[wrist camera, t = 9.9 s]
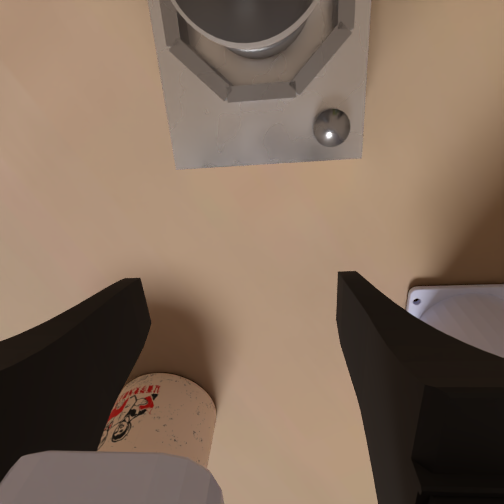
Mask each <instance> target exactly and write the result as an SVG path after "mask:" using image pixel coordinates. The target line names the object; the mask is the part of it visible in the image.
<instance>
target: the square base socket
mask: <svg viewBox="0 0 504 504" xmlns="http://www.w3.org/2000/svg"><path fill="white" fill-rule="evenodd" d="M148 5H149V11H150V17H151V23H152V29H153V35H154V41H155V47H156V53H157V59H158V65H159V71H160V77H161V83H162V89H163V95H164V101H165V106H166V112H167V118H168V124H169V130H170V136H171V142H172V148H173V154H174V160H175V166H176V170H179V169H195V168H211V167H227V166H244V165H260V164H276V163H293V162H309V161H325V160H341V159H358V158H362V146H363V130H364V113H365V97H366V80H367V64H368V47H369V31H370V14H371V0H319V1H318V3H317V5H316V6H315V8H314V9H313V11H312V12H311V14H310V15H309V17H308V19H307V21H306V24H305V26H304V28H303V30H302V31H301V33H300V34H299V36H298V37H297V38H296V40H295V41H294V42H293V43H292V44H291V45H290V46H289V47H288V48H286V49H285V50H284V51H282V52H280V53H279V54H277V55H274V56H272V57H268V58H263V59H250V58H245V57H242V56H239V55H237V54H235V53H233V52H232V51H230V50H229V49H227V48H226V47H225V46H223V45H220V44H218V43H216V42H214V41H212V40H210V39H208V38H207V37H205V36H204V35H202V34H201V33H199V32H198V31H197V30H195V29H194V28H193V27H192V26H191V25H190V24H189V23H187V22H186V20H185V19H184V18H183V17H182V16H181V15H180V14H179V12H178V11H177V10H176V8H175V7H174V5H173V4H172V2H171V1H170V0H148Z"/></svg>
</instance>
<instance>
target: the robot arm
mask: <svg viewBox="0 0 504 504" xmlns="http://www.w3.org/2000/svg"><path fill="white" fill-rule="evenodd" d="M417 298H418V301H416V302H413V301H414V300H415V299H417ZM336 321H337V327H338V333H339V339H340V344H341V348H342V351H343V354H344V357H345V361H346V364H347V367H348V370H349V373H350V377H351V380H352V383H353V386H354V389H355V392H356V396H357V399H358V403H359V406H360V410H361V415H362V420H363V425H364V430H365V435H366V440H367V445H368V450H369V455H370V461H371V466H372V471H373V477H374V483H375V488H376V494H377V500H378V504H504V284H488V285H451V286H417V287H413V288H411V289H410V290H409V293H408V300H407V307H406V310H404V309H403V308H402V307H400V306H399V305H397V304H396V303H394V302H393V301H392V300H390V299H389V298H388V297H386V296H385V295H384V294H383V293H381V292H380V291H379V290H378V289H376V288H375V287H374V286H373V285H372V284H371V283H369V282H368V281H367V280H366V279H365V278H364V277H362V276H361V275H360V274H359V273H358V272H356V271H345V272H338V286H337V313H336ZM150 326H151V319H150V315H149V311H148V307H147V303H146V299H145V295H144V291H143V287H142V283H141V279H140V278H124V279H122V280H120V281H118V282H116V283H114V284H112V285H110V286H109V287H107V288H105V289H103V290H102V291H100V292H98V293H97V294H95V295H93V296H91V297H90V298H88V299H86V300H85V301H83V302H81V303H80V304H78V305H76V306H74V307H72V308H71V309H69V310H67V311H65V312H63V313H61V314H60V315H58V316H56V317H54V318H52V319H50V320H48V321H46V322H44V323H42V324H40V325H38V326H36V327H34V328H32V329H29V330H27V331H25V332H23V333H21V334H18V335H16V336H13V337H11V338H8V339H6V340H3V341H0V504H224V501H223V495H222V490H221V488H220V487H219V485H218V483H217V482H216V480H215V479H214V477H213V475H212V474H211V472H210V471H209V470H208V469H207V468H205V467H203V466H202V465H200V464H198V463H196V462H195V461H193V460H191V459H190V458H188V457H183V456H178V455H173V454H167V453H158V452H103V451H97V449H98V446H99V443H100V440H101V437H102V435H103V432H104V429H105V427H106V424H107V422H108V419H109V416H110V414H111V411H112V409H113V407H114V404H115V402H116V400H117V398H118V396H119V394H120V392H121V390H122V388H123V386H124V384H125V382H126V380H127V378H128V376H129V375H130V373H131V371H132V369H133V367H134V365H135V363H136V361H137V359H138V357H139V355H140V353H141V351H142V349H143V347H144V344H145V341H146V338H147V335H148V332H149V329H150Z"/></svg>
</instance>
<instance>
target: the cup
mask: <svg viewBox="0 0 504 504" xmlns="http://www.w3.org/2000/svg"><path fill="white" fill-rule="evenodd" d="M170 1H171V2H172V4H173V5H174V7H175V8H176V10H177V11H178V12H179V14H180V15H181V16H182V17H183V18H184V19H185V20H186V22H187V23H189V24H190V25H191V26H192V27H193V28H194V29H195V30H197V31H198V32H199V33H201V34H202V35H204V36H205V37H207V38H208V39H210V40H212V41H214V42H216V43H218V44H220V45H223V46H225V47H226V48H227V49H229V50H230V51H232V52H233V53H235V54H237V55H239V56H242V57H245V58H250V59H263V58H268V57H272V56H274V55H277V54H279V53H280V52H282V51H284V50H285V49H286V48H288V47H289V46H290V45H291V44H292V43H293V42H294V41H295V40H296V38H297V37H298V36H299V34H300V33H301V31H302V30H303V28H304V26H305V24H306V21H307V19H308V17H309V15H310V14H311V12H312V11H313V9H314V8H315V6H316V5H317V3H318V1H319V0H170Z"/></svg>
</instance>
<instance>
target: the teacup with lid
mask: <svg viewBox="0 0 504 504" xmlns="http://www.w3.org/2000/svg"><path fill="white" fill-rule="evenodd" d="M215 423H216V409H215V406H214V403H213V401H212V399H211V398H210V396H209V395H208V394H207V392H206V391H205V390H204V389H202V388H201V387H200V386H199V385H197V384H196V383H194V382H192V381H191V380H189V379H186V378H184V377H181V376H178V375H174V374H168V373H152V374H147V375H143V376H140V377H138V378H135V379H134V380H132V381H131V382H129V383H128V384H127V385H126V386H125V387H124V388H123V390H122V391H121V393H120V395H119V397H118V399H117V401H116V403H115V405H114V407H113V409H112V411H111V414H110V416H109V419H108V422H107V424H106V427H105V429H104V432H103V435H102V437H101V440H100V443H99V446H98V449H97V451H103V452H158V453H167V454H173V455H178V456H183V457H188V458H190V459H191V460H193V461H195V462H196V463H198V464H200V465H202V466H203V467H205V468H207V465H208V460H209V454H210V449H211V444H212V439H213V433H214V428H215Z"/></svg>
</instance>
